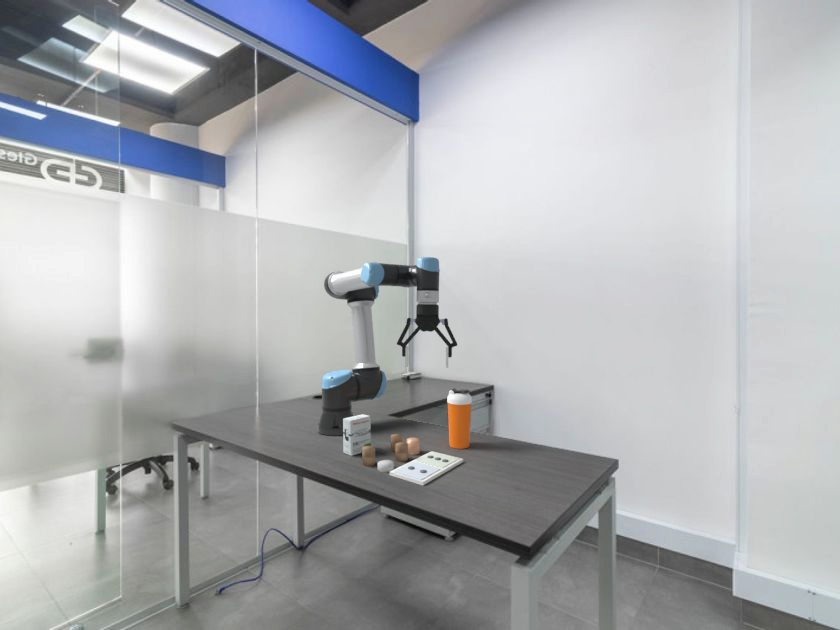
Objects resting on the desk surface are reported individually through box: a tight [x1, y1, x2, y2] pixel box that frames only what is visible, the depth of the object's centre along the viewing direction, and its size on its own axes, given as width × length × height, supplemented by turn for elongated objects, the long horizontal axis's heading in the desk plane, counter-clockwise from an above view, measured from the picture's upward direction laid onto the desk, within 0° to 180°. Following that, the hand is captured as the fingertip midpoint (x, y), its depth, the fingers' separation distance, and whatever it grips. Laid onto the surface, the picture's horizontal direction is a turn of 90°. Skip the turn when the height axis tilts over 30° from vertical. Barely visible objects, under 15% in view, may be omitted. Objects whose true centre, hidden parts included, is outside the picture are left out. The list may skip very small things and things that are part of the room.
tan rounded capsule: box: [361, 445, 376, 467], centre depth 130 cm, size 4×4×5 cm
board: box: [389, 450, 464, 486], centre depth 127 cm, size 12×22×1 cm, turn 144°
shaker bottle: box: [446, 388, 473, 450], centre depth 148 cm, size 9×9×20 cm
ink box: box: [342, 413, 372, 457], centre depth 141 cm, size 9×5×12 cm, turn 134°
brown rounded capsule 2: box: [394, 441, 409, 463], centre depth 134 cm, size 4×4×5 cm
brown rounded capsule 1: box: [390, 433, 403, 453], centre depth 143 cm, size 4×4×5 cm
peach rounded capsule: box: [406, 436, 421, 456], centre depth 140 cm, size 4×4×4 cm
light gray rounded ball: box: [377, 459, 395, 473], centre depth 126 cm, size 5×5×2 cm
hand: (426, 366), depth 140 cm, fingers open, 13 cm apart
